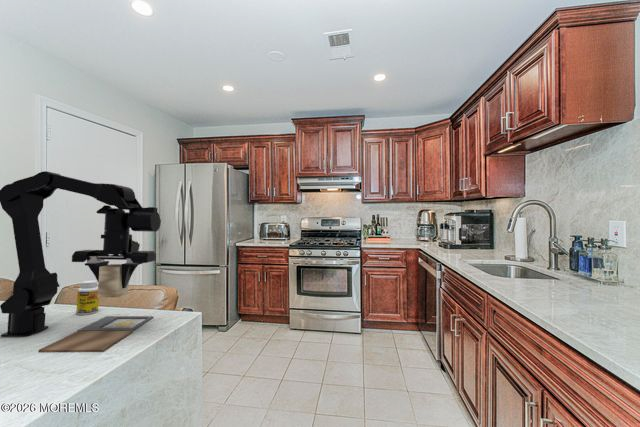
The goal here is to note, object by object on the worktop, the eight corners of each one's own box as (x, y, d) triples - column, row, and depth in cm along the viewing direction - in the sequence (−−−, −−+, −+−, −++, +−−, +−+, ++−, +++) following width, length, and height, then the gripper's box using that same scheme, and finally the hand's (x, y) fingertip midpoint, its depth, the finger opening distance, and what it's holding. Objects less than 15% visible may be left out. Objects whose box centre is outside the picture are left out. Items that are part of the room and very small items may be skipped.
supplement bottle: (74, 316, 90) (76, 283, 91) (77, 312, 95) (79, 280, 96) (97, 314, 94) (99, 282, 94) (98, 309, 98) (100, 279, 99)
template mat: (77, 332, 78) (77, 330, 78) (106, 318, 90) (106, 316, 90) (131, 332, 79) (132, 330, 79) (153, 318, 91) (153, 316, 91)
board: (38, 352, 66) (38, 350, 66) (78, 333, 78) (78, 330, 78) (103, 352, 67) (103, 349, 67) (132, 333, 79) (132, 330, 79)
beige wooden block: (97, 297, 76) (99, 266, 77) (109, 293, 81) (111, 264, 82) (117, 297, 77) (119, 267, 77) (128, 293, 82) (129, 264, 82)
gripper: (165, 231, 89) (162, 282, 88) (99, 229, 87) (96, 282, 86) (147, 232, 78) (144, 290, 77) (72, 230, 76) (68, 290, 75)
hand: (113, 288), depth 79 cm, fingers closed on beige wooden block, 5 cm apart
